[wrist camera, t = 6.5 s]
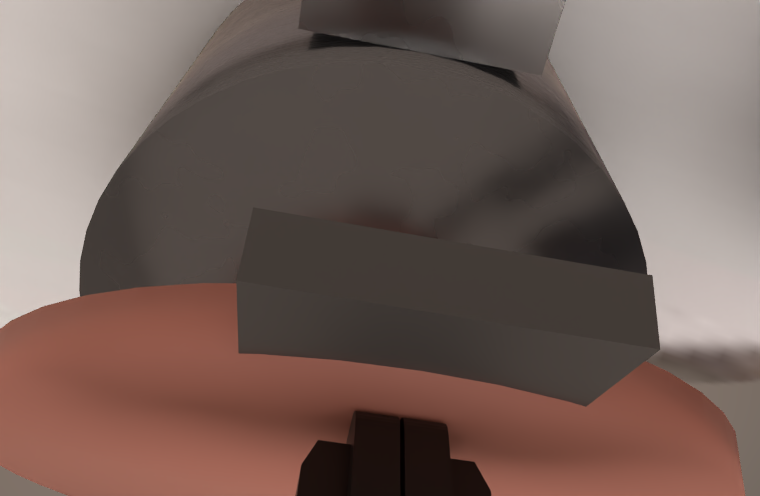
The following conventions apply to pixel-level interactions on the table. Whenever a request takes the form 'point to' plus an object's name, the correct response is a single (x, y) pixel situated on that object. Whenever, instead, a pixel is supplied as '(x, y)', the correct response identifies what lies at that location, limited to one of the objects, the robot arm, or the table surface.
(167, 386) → the lid
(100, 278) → the cooker pot
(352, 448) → the robot arm
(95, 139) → the table surface
